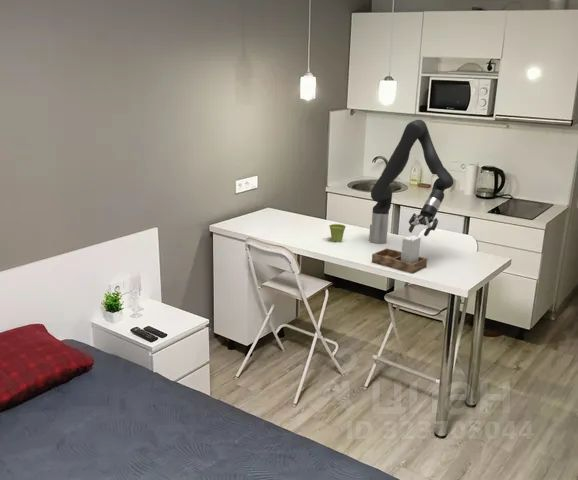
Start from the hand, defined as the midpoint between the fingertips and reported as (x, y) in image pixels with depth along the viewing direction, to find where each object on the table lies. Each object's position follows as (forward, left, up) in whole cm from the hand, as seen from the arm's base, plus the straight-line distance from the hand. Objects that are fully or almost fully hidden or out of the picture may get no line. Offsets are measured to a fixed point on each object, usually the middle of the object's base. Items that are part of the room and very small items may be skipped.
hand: (417, 233), depth 310 cm
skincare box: (0, -6, -16) cm, 17 cm away
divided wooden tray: (-6, -6, -16) cm, 18 cm away
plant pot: (-54, +5, -17) cm, 56 cm away
